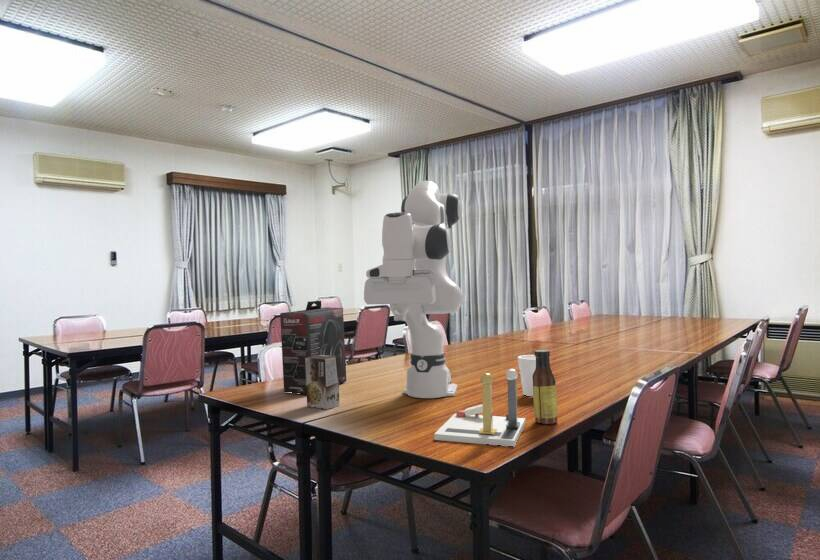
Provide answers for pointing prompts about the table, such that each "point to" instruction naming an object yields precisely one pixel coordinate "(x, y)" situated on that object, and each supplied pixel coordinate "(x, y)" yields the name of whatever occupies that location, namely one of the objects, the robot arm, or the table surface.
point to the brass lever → (487, 404)
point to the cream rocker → (474, 410)
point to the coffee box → (322, 381)
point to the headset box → (310, 342)
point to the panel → (469, 427)
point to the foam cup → (527, 372)
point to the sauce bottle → (544, 390)
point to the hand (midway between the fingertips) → (400, 320)
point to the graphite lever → (512, 398)
